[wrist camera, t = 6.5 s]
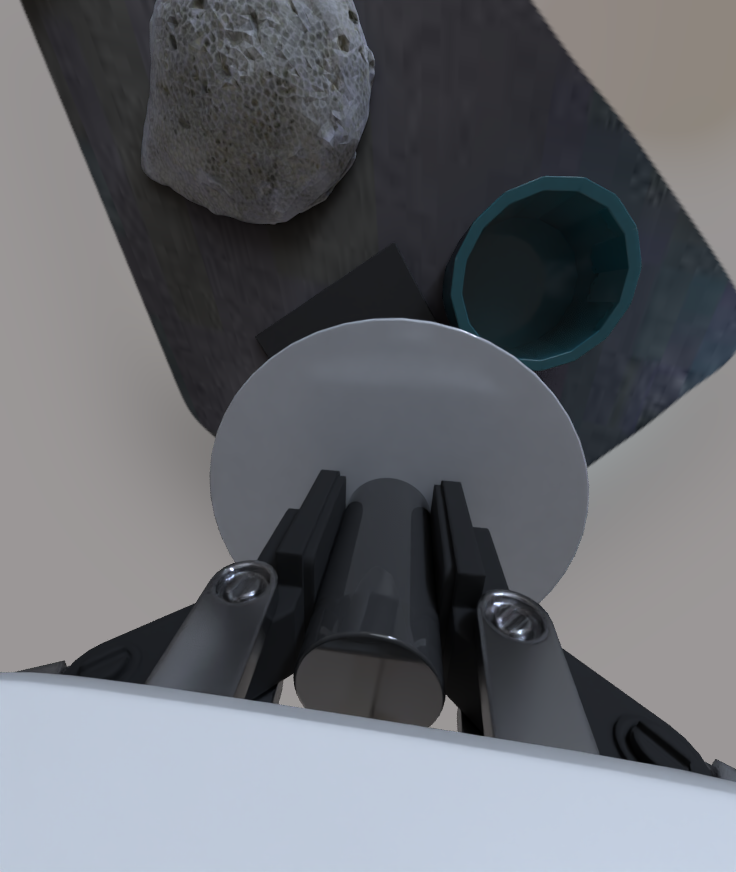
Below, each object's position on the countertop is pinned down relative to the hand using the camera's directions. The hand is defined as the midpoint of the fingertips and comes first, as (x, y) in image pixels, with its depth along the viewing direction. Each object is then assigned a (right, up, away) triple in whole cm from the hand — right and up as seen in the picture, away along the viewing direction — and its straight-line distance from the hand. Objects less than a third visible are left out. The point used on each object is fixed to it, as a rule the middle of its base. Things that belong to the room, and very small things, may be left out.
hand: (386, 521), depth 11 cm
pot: (+11, +14, +18) cm, 25 cm away
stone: (-8, +27, +16) cm, 32 cm away
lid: (0, 0, +1) cm, 1 cm away
